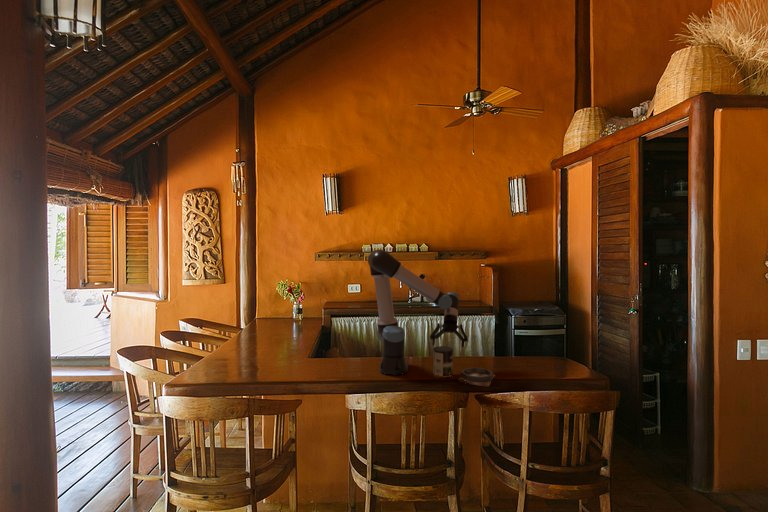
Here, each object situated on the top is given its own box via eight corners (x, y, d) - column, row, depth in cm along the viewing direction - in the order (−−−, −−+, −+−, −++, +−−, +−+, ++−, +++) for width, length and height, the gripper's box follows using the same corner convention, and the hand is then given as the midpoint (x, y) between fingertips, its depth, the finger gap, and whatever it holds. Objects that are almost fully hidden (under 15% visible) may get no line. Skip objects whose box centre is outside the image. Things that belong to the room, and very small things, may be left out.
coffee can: (453, 372, 253) (453, 346, 252) (452, 379, 243) (452, 351, 242) (434, 371, 255) (434, 345, 254) (432, 377, 245) (432, 350, 244)
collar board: (458, 382, 238) (458, 374, 237) (466, 373, 251) (466, 366, 251) (488, 386, 231) (488, 378, 231) (495, 377, 245) (495, 370, 245)
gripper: (473, 322, 266) (471, 356, 253) (429, 320, 272) (425, 353, 259) (473, 314, 260) (471, 349, 247) (427, 312, 267) (423, 346, 253)
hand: (447, 351), depth 253 cm, fingers open, 13 cm apart
